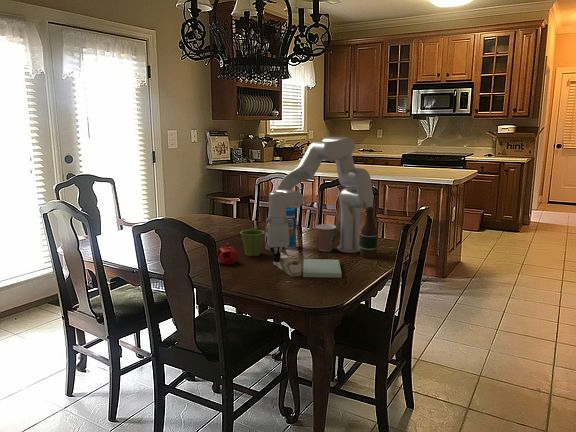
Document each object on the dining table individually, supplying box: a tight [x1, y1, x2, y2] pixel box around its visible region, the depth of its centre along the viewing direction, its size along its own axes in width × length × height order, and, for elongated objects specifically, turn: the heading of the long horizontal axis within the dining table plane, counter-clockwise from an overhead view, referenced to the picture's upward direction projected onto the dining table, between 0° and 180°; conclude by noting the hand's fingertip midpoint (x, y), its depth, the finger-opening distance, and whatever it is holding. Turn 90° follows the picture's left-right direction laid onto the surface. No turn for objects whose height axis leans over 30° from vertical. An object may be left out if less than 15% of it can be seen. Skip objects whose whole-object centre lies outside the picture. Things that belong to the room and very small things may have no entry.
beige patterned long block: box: [273, 252, 302, 278], centre depth 206 cm, size 20×4×6 cm, turn 24°
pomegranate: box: [216, 243, 239, 266], centre depth 217 cm, size 10×10×9 cm
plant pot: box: [239, 229, 266, 257], centre depth 230 cm, size 12×12×11 cm
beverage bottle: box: [285, 208, 298, 250], centre depth 243 cm, size 8×8×20 cm
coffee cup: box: [315, 223, 337, 252], centre depth 240 cm, size 10×10×12 cm
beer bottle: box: [359, 206, 378, 260], centre depth 226 cm, size 8×8×24 cm
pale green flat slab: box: [302, 258, 343, 279], centre depth 207 cm, size 20×16×2 cm
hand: (276, 261), depth 207 cm, fingers closed
